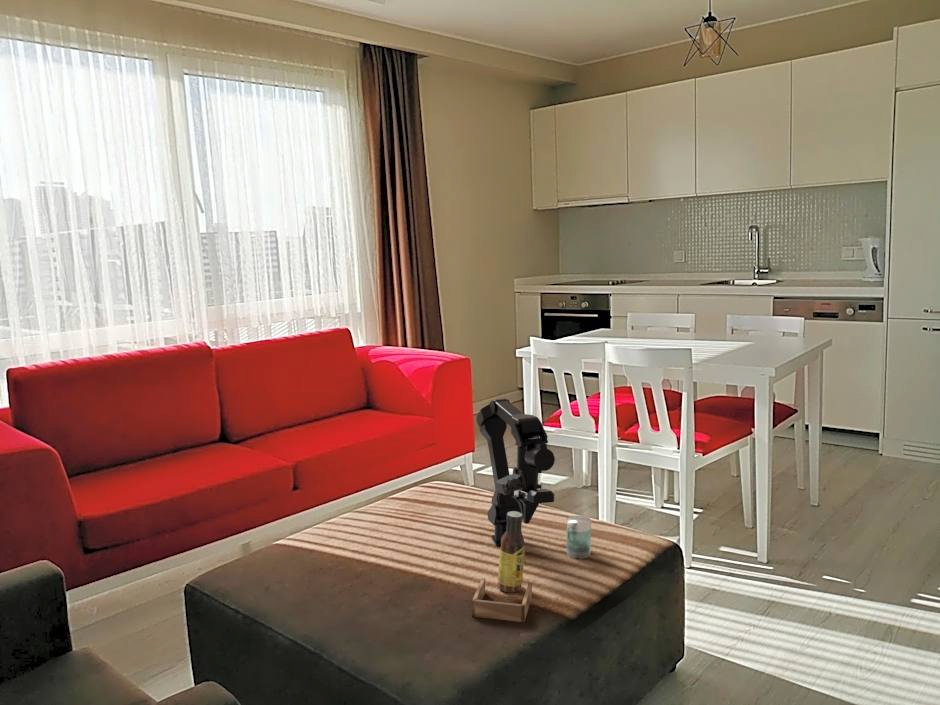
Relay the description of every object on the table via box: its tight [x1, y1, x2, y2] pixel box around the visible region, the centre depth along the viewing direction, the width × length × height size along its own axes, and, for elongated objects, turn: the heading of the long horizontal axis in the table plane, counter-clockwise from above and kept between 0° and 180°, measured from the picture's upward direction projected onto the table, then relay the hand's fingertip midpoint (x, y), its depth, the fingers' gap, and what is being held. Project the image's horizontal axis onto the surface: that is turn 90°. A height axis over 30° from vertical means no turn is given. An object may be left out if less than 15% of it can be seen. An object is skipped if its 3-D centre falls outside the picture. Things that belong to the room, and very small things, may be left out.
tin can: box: [566, 515, 592, 559], centre depth 220 cm, size 7×7×10 cm
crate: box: [471, 577, 533, 623], centre depth 191 cm, size 12×13×4 cm
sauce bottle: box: [497, 511, 526, 593], centre depth 199 cm, size 6×6×20 cm
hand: (526, 523), depth 209 cm, fingers closed
